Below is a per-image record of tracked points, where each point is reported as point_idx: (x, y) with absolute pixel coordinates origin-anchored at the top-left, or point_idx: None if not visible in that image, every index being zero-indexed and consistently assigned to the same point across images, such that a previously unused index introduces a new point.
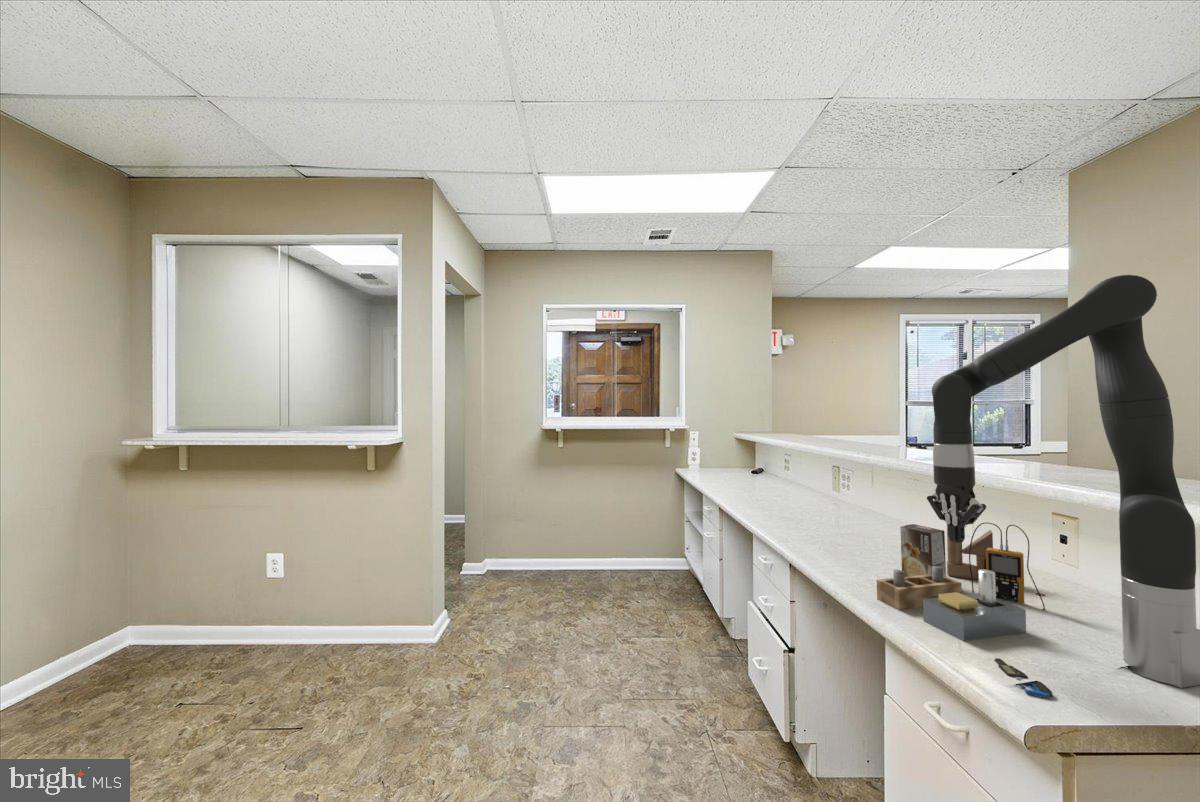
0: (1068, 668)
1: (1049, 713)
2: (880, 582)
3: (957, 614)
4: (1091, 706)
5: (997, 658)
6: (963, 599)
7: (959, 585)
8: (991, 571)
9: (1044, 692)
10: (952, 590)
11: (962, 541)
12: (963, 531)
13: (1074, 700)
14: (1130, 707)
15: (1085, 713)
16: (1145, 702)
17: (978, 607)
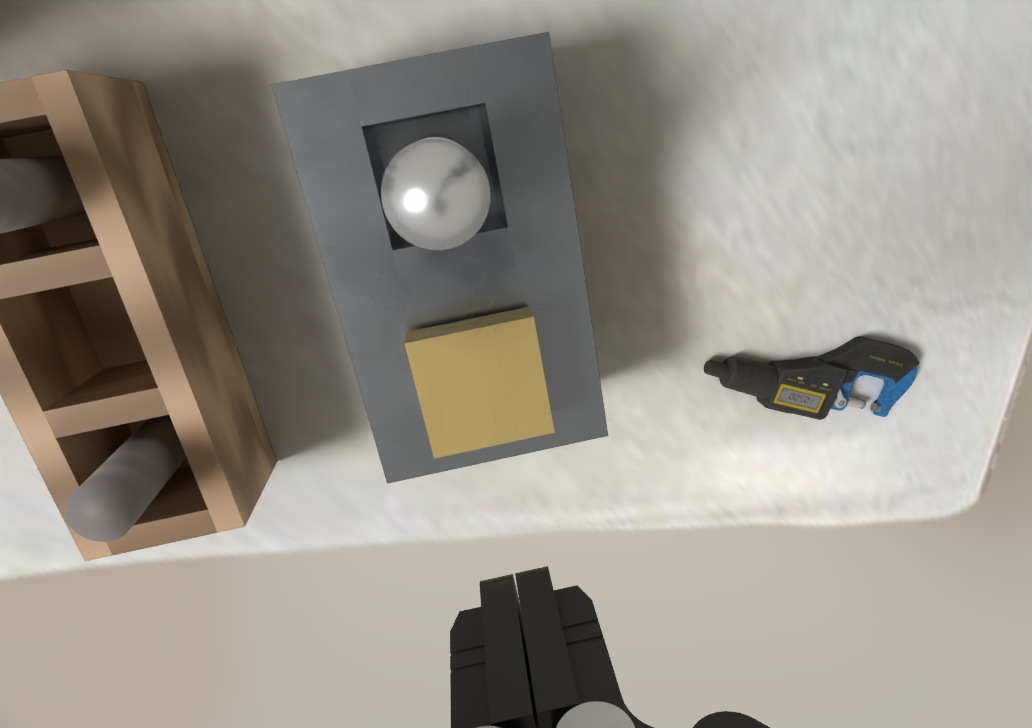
0: (785, 127)
1: (957, 423)
2: (116, 550)
3: (576, 440)
4: (969, 279)
5: (735, 381)
6: (513, 381)
7: (85, 92)
8: (437, 154)
9: (904, 373)
10: (121, 153)
11: (547, 572)
12: (609, 670)
13: (935, 300)
14: (1008, 161)
15: (986, 328)
16: (1007, 76)
17: (502, 282)
